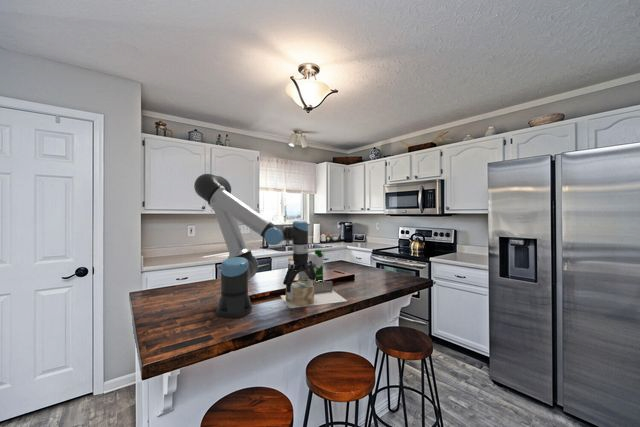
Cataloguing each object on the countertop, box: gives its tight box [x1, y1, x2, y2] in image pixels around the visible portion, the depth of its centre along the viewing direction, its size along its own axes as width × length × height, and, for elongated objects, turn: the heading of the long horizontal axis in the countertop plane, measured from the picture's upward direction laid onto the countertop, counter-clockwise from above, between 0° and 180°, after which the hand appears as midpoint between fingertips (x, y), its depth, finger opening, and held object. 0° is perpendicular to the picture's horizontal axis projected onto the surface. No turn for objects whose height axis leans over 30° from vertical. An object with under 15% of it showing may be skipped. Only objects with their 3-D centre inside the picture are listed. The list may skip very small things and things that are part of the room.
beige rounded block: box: [285, 281, 314, 308], centre depth 136 cm, size 8×12×8 cm, turn 47°
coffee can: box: [297, 263, 316, 283], centre depth 159 cm, size 10×10×14 cm
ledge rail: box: [304, 279, 333, 293], centre depth 150 cm, size 20×2×7 cm, turn 112°
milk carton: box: [307, 249, 325, 281], centre depth 176 cm, size 9×9×20 cm
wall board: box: [280, 289, 348, 309], centre depth 141 cm, size 30×19×1 cm, turn 112°
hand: (300, 295), depth 136 cm, fingers open, 13 cm apart
